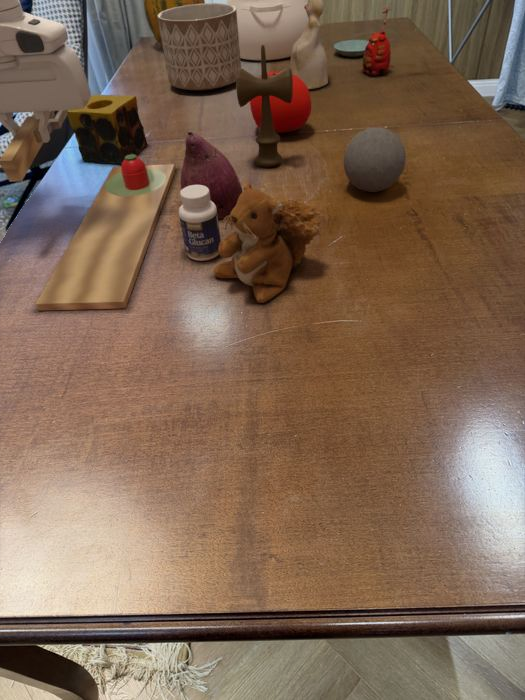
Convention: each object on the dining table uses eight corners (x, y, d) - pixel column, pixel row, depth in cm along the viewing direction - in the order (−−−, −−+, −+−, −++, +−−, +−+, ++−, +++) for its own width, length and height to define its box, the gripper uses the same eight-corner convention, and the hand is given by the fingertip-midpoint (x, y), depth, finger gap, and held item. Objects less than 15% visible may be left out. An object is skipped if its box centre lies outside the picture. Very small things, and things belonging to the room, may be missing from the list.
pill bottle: (189, 265, 73) (178, 203, 66) (183, 246, 77) (171, 186, 70) (225, 257, 74) (217, 195, 67) (217, 239, 78) (209, 179, 71)
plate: (99, 204, 89) (97, 197, 88) (114, 175, 97) (113, 169, 96) (162, 201, 88) (160, 195, 87) (172, 173, 96) (171, 167, 95)
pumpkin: (141, 53, 161) (121, -45, 144) (171, 38, 174) (156, -54, 156) (191, 56, 155) (177, -46, 138) (219, 40, 168) (209, -56, 150)
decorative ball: (413, 191, 85) (423, 131, 78) (366, 208, 82) (371, 147, 75) (376, 170, 91) (381, 113, 84) (330, 185, 88) (332, 127, 81)
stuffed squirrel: (208, 277, 71) (194, 189, 62) (286, 240, 76) (283, 155, 67) (250, 311, 65) (241, 220, 56) (331, 269, 70) (335, 179, 61)
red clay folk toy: (356, 71, 134) (361, 4, 124) (379, 66, 136) (385, 0, 126) (372, 78, 129) (378, 9, 119) (395, 73, 131) (403, 5, 121)
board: (38, 310, 68) (35, 303, 67) (114, 172, 98) (113, 166, 97) (125, 308, 67) (123, 301, 66) (175, 169, 97) (174, 163, 96)
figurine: (286, 78, 134) (284, -14, 120) (325, 75, 134) (327, -17, 120) (289, 92, 125) (287, -5, 112) (331, 89, 125) (334, -8, 111)
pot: (228, 42, 165) (222, -19, 153) (309, 37, 164) (309, -26, 152) (222, 68, 144) (215, -1, 133) (315, 61, 143) (315, -8, 132)
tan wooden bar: (33, 180, 70) (23, 159, 67) (-2, 182, 70) (-13, 161, 68) (68, 114, 81) (60, 94, 79) (38, 116, 82) (30, 96, 79)
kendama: (245, 157, 99) (235, 41, 85) (294, 156, 98) (292, 38, 84) (242, 171, 95) (231, 51, 81) (293, 169, 94) (291, 47, 80)
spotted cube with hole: (148, 145, 106) (137, 95, 99) (125, 166, 100) (112, 113, 93) (106, 142, 109) (93, 93, 102) (81, 162, 102) (65, 110, 95)
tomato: (295, 115, 114) (294, 59, 106) (319, 137, 104) (320, 76, 96) (243, 125, 111) (238, 68, 103) (263, 148, 102) (259, 86, 94)
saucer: (381, 56, 143) (381, 47, 142) (342, 61, 142) (342, 52, 140) (364, 46, 152) (364, 37, 150) (327, 51, 150) (327, 43, 148)
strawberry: (122, 190, 89) (114, 162, 86) (128, 179, 92) (121, 151, 89) (146, 189, 89) (139, 161, 85) (152, 178, 92) (145, 150, 88)
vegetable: (210, 243, 83) (183, 169, 70) (175, 213, 88) (144, 140, 75) (258, 207, 85) (240, 130, 73) (222, 181, 90) (199, 104, 78)
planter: (255, 76, 137) (250, 4, 125) (218, 99, 125) (209, 22, 113) (195, 71, 144) (186, 2, 132) (155, 92, 132) (141, 18, 120)
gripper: (-95, 46, 64) (-43, 153, 73) (61, 36, 63) (93, 147, 72) (-70, 33, 68) (-24, 136, 78) (76, 24, 67) (105, 130, 77)
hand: (34, 141), depth 75 cm, fingers closed on tan wooden bar, 2 cm apart
